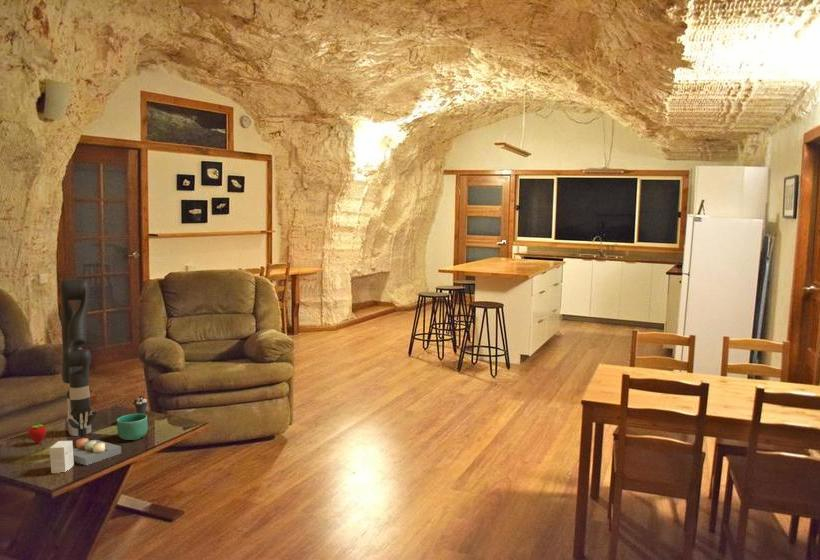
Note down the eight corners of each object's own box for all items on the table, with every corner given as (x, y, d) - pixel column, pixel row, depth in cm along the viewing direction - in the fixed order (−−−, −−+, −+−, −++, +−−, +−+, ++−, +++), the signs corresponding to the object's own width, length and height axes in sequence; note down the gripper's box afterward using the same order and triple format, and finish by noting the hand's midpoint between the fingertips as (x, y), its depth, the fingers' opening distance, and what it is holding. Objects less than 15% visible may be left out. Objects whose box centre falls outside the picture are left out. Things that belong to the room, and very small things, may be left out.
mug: (141, 442, 290) (140, 422, 289) (113, 443, 290) (111, 422, 289) (155, 430, 306) (154, 410, 305) (128, 430, 306) (127, 411, 305)
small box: (59, 466, 263) (58, 440, 262) (74, 465, 264) (72, 440, 263) (50, 473, 256) (49, 447, 254) (65, 473, 256) (63, 447, 255)
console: (60, 458, 272) (60, 451, 272) (95, 446, 286) (95, 439, 286) (86, 465, 263) (85, 458, 263) (121, 453, 277) (121, 446, 277)
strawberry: (32, 441, 293) (31, 419, 292) (50, 441, 293) (48, 419, 292) (25, 446, 287) (24, 424, 286) (43, 445, 287) (42, 423, 286)
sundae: (152, 421, 320) (150, 391, 318) (141, 425, 314) (139, 394, 312) (142, 419, 323) (140, 389, 321) (131, 423, 317) (129, 393, 315)
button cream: (90, 453, 271) (90, 445, 270) (100, 449, 275) (100, 441, 274) (97, 455, 268) (97, 447, 268) (107, 451, 272) (107, 443, 272)
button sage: (82, 451, 274) (81, 442, 273) (92, 447, 278) (92, 439, 277) (89, 453, 271) (88, 444, 271) (99, 449, 275) (98, 441, 275)
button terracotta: (74, 448, 276) (73, 440, 276) (84, 445, 280) (84, 437, 280) (81, 450, 274) (80, 442, 274) (91, 447, 278) (90, 439, 278)
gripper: (89, 391, 283) (91, 431, 284) (59, 399, 271) (62, 440, 273) (99, 393, 279) (102, 433, 280) (70, 401, 267) (73, 442, 269)
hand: (82, 436), depth 277 cm, fingers closed
